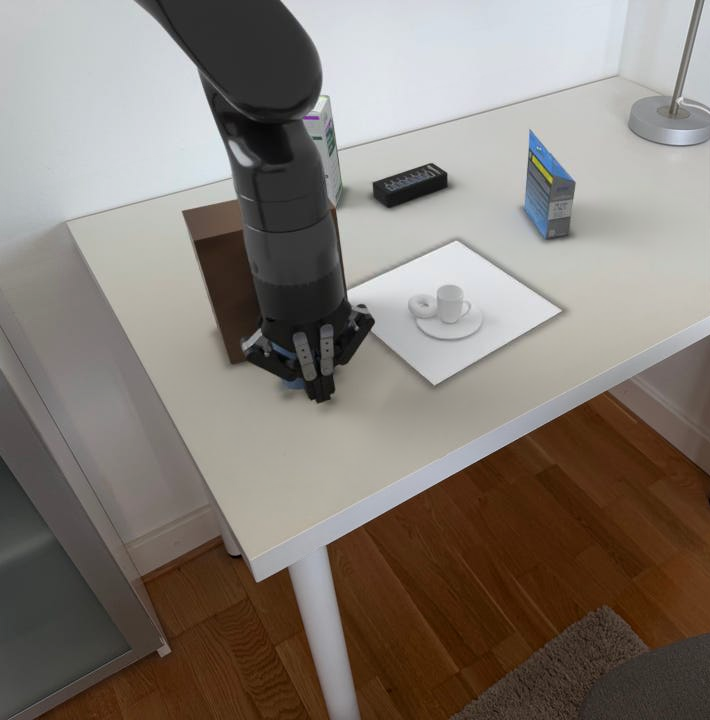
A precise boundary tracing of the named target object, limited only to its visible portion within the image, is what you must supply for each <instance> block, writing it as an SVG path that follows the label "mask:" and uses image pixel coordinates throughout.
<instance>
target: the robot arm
mask: <svg viewBox="0 0 710 720" xmlns="http://www.w3.org/2000/svg"><path fill="white" fill-rule="evenodd" d="M133 2H135V3H136V4H137V5H138V6H139V7H140V8H141V9H143V10H144V11H145V12H146V13H147V14H149V15H150V16H151V17H152V18H153V19H154V20H155V21H156V22H157V23H158V24H159V25H160V26H161V28H163V30H164V31H165V32H166V33H167V34H168V35H169V37H170V39H172V40H173V42H175V43H176V45H177V46H178V47H179V48H180V49H181V50H182V52H183V53H184V54H185V55H186V56H187V58H189V60H190V61H191V62H192V64H193V65H194V66H196V70H197V73H198V77H199V79H200V80H199V81H200V83H201V86H202V89H203V92H204V95H205V98H206V101H207V103H208V107H209V109H210V112H211V115H212V117H213V120H214V123H215V125H216V128H217V130H218V133H219V136H220V138H221V140H222V143H223V145H224V148H225V152H226V156H227V158H228V163H229V167H230V172H231V180H232V185H233V188H234V193H235V198H236V199H237V201H238V205H239V210H240V214H241V218H242V224H243V237H244V243H245V248H246V252H247V256H248V260H249V265H250V268H251V272H252V276H253V280H254V285H255V289H256V293H257V297H258V301H259V305H260V309H261V314H260V317H259V320H258V326H259V330H258V331H257V332H256V333H255V334H254V335H253V336H252V337H250V336H245V337H243V338H242V339H241V340H240V344H241V347H242V350H243V353H244V355H245V357H246V360H245V361H246V362H248V363H250V364H251V365H254V366H256V367H257V368H259V369H262V370H264V371H266V372H268V373H270V374H272V375H273V376H276V377H278V378H280V379H281V378H282V379H284V380H286V381H288V382H292V381H295V380H296V379H297V378H302V380H303V385H304V389H303V390H304V391H305V394H306V396H307V398H308V399H309V401H311V402H312V401H315V403H316V405H319V404H321V403H325V402H328V401H331V400H332V397H331V395H333V394H335V392H336V384H335V379H334V378H335V377H334V376H333V370H334V368H336V367H338V366H346V365H348V364H349V363H350V361H351V360H352V358H353V357H354V356H355V354H356V353H357V351H358V349H359V348H360V346H361V345H362V344H363V342H364V341H365V339H366V337H367V336H368V335H369V333H370V332H371V329H372V327H373V326H374V324H375V320H374V318H373V317H372V315H371V313H370V312H369V310H368V309H367V307H366V305H364V304H359V305H357V306H353V305H351V304H350V302H349V301H348V299H347V297H346V296H345V294H344V287H343V279H342V272H341V265H340V258H339V250H340V248H339V241H338V239H337V235H336V230H335V225H334V221H333V218H332V215H331V211H330V207H329V201H328V194H327V187H326V180H325V172H324V166H323V161H322V158H321V155H320V152H319V149H318V147H317V145H316V143H315V142H314V140H313V139H312V137H311V135H310V134H309V132H308V130H307V129H306V126H305V124H304V121H303V117H305V116H306V115H307V114H308V113H309V112H310V111H311V110H312V109H313V107H314V106H315V104H316V103H317V101H318V99H319V96H320V95H321V93H322V89H323V81H324V74H323V72H324V71H323V64H322V60H321V57H320V54H319V51H318V49H317V46H316V44H315V43H314V41H313V39H312V38H311V36H310V35H309V33H308V32H307V30H306V29H305V28H304V26H303V25H302V23H300V21H299V20H298V19H297V18H296V17H295V15H294V14H293V12H292V11H291V10H290V9H289V7H287V6H286V5H285V3H284V2H283V1H282V0H133ZM268 340H270V341H271V342H273V343H275V344H276V345H278V346H280V347H281V348H283V349H285V350H286V351H288V352H291V353H294V354H295V357H296V359H290V358H289V357H287V356H285V355H284V354H282V353H280V352H278V351H276V350H274V349H272V348H271V346H270V344H269V342H268ZM311 350H313V353H314V359H315V361H316V363H315V364H313V359H312V355H311V352H310V351H311ZM282 379H281V380H282Z"/></svg>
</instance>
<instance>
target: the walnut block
mask: <svg viewBox="0 0 710 720" xmlns="http://www.w3.org/2000/svg"><path fill="white" fill-rule="evenodd" d="M328 201H329V207H330V211H331V215H332V218H333V221H334V225H335V230H336V235H337V239H338V241H339V248H340V250H339V258H340V265H341V272H342V279H343V287H344V294H345V296H346V297H347V299H348V296H347V291H348V290H347V281H346V274H345V267H344V259H343V251H342V244H341V238H340V237H341V236H340V229H339V221H338V215H337V207H336V208H335V206H334V205H333V204H332V202H331V201H330V199H329V198H328ZM181 214H182V217H183V221H184V223H185V227H186V231H187V234H188V237H189V241H190V244H191V247H192V250H193V254H194V256H195V259H196V263H197V266H198V269H199V273H200V276H201V279H202V283H203V285H204V289H205V293H206V295H207V299H208V302H209V305H210V309H211V312H212V315H213V319H214V322H215V324H216V328H217V331H218V335H219V337H220V340H221V342H222V345H223V347H224V350H225V353H226V356H227V358H228V361H229V364H230V365H233V364H236V363H239V362H243V361H247V360H246V357H245V355H244V353H243V350H242V347H241V344H240V340H241V339H242V338H243V337H245V336H250V337H252V336H253V335H254V334H255V333H256V332H257V331H258V330H259V326H258V320H259V317H260V314H261V309H260V305H259V301H258V297H257V293H256V289H255V285H254V280H253V276H252V272H251V268H250V265H249V260H248V256H247V252H246V248H245V243H244V237H243V224H242V218H241V214H240V210H239V205H238V201H237V198H236V199H231V200H226V201H222V202H217V203H213V204H208V205H203V206H198V207H193V208H189V209H184V210H181ZM268 342H269V344H270V346H271V348H272V344H271V341H270V340H268ZM272 349H273V348H272Z"/></svg>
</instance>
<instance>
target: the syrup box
mask: <svg viewBox="0 0 710 720" xmlns="http://www.w3.org/2000/svg"><path fill="white" fill-rule="evenodd" d="M303 121H304V124H305V126H306V129H307V130H308V132H309V134H310V135H311V137H312V139H313V140H314V142H315V143H316V145H317V147H318V149H319V152H320V155H321V158H322V161H323V166H324V172H325V180H326V187H327V194H328V198H329V199H330V201H331V202H332V204H333V205H334V206H335V208H336V209H337V205H338V202H339V201H340V198H341V194H342V192H343V188H344V186H343V179H342V173H341V166H340V158H339V152H338V144H337V137H336V131H335V130H336V129H335V123H334V116H333V109H332V103H331V96H330V95H327V94H320V96H319V99H318V101H317V103H316V104H315V106H314V107H313V109H312V110H311V111H310V112H309V113H308V114H307V115H306V116H305V117H303Z"/></svg>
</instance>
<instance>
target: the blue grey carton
mask: <svg viewBox="0 0 710 720" xmlns="http://www.w3.org/2000/svg"><path fill="white" fill-rule="evenodd" d="M528 131H529V132H528V153H527V166H526V167H527V168H526V181H525V193H524V205H523V210H525V212H526V213H527V215H528V217H529V218H530V219H531V221H532V223H533V224H534V225H535V227H536V228H537V229H538V231H539V232H540V233H541V235H542V237H543V239H545V240H548V239H555V238H561V237H567V236H569V235H570V228H571V227H570V226H571V220H572V212H573V205H574V200H575V199H574V198H575V191H576V184H577V183H576V181H575V180H574V178H572V176H571V175H570V174H569V173H568V172H567V171H566V169H565V168H564V167H563V166H562V165H561V163H560V162H559V161H558V160H557V158H556V157H554V155H553V154H552V153H551V152H549V150H548V149H547V148H546V147H545V145H544V144H543V142H542V141H541V140H540V139H539V138H538V136H537V135H536V134H535V133H534V132H533V130H532V129H530V128H529V129H528Z"/></svg>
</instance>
